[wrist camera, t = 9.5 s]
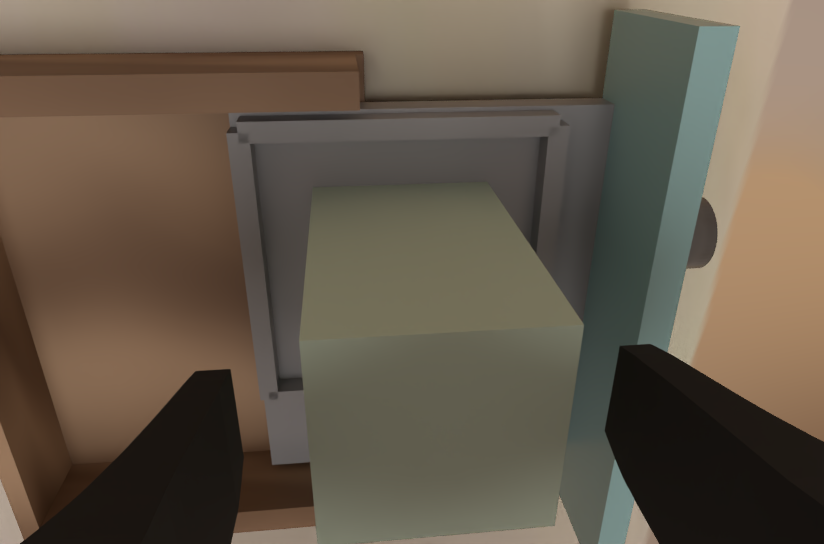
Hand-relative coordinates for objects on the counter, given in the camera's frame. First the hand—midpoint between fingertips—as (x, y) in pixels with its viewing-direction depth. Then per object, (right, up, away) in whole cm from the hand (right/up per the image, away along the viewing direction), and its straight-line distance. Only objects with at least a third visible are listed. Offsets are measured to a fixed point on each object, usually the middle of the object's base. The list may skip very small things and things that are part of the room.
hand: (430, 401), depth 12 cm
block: (-1, +3, +5) cm, 6 cm away
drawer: (+1, +2, +7) cm, 7 cm away
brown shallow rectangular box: (-7, +2, +7) cm, 9 cm away
